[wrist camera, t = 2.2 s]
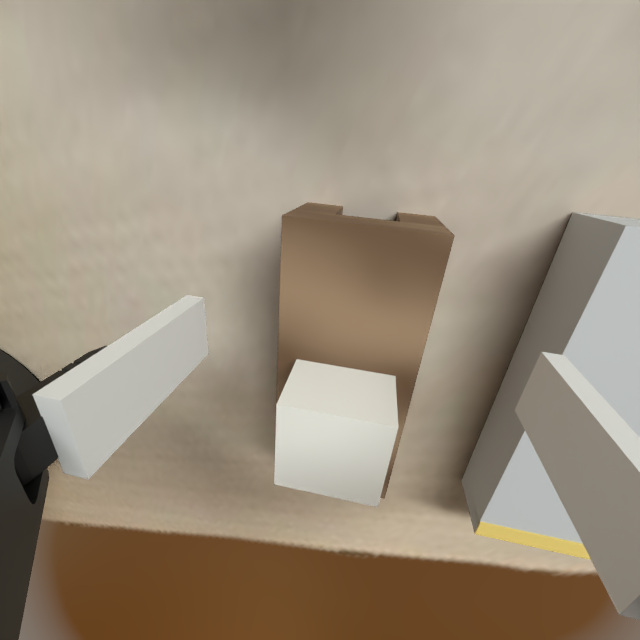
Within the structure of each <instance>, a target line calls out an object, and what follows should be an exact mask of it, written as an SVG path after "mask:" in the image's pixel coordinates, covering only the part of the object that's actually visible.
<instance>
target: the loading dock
mask: <svg viewBox="0 0 640 640" xmlns="http://www.w3.org/2000/svg"><path fill="white" fill-rule="evenodd" d="M541 352H547V353H553V354H559V355H564V356H565V357H566V358H567V359H568V360H569V361H570V362H571V363H572V364H573V365H574V366H575V367H576V369H577V370H578V371H579V372H580V373H581V374H582V375H583V376H584V377H585V378H586V379H587V381H588V382H589V383H590V384H591V385H592V386H593V387H594V388H595V389H596V390H597V391H598V393H599V394H600V395H601V396H602V397H603V398H604V399H605V400H606V401H607V402H608V403H609V404H610V406H611V407H612V408H613V409H614V410H615V411H616V412H617V413H618V414H619V415H620V416H621V418H622V419H623V420H624V421H625V422H626V423H627V424H628V425H629V426H630V427H631V428H632V430H633V431H634V432H635V433H636V434H637V435H638V436H639V437H640V219H633V218H623V217H613V216H604V215H594V214H584V213H575V212H573V213H572V215H571V217H570V220H569V222H568V225H567V227H566V229H565V232H564V234H563V237H562V239H561V241H560V244H559V246H558V249H557V251H556V254H555V256H554V258H553V261H552V263H551V266H550V268H549V270H548V273H547V275H546V278H545V280H544V282H543V285H542V287H541V290H540V292H539V295H538V297H537V299H536V302H535V304H534V307H533V309H532V311H531V314H530V316H529V319H528V321H527V324H526V326H525V328H524V331H523V333H522V336H521V338H520V340H519V343H518V345H517V348H516V350H515V352H514V355H513V357H512V360H511V362H510V365H509V367H508V369H507V372H506V374H505V377H504V379H503V381H502V384H501V386H500V389H499V391H498V393H497V396H496V398H495V401H494V403H493V406H492V408H491V410H490V413H489V415H488V418H487V420H486V422H485V425H484V427H483V430H482V432H481V435H480V437H479V439H478V442H477V444H476V447H475V449H474V451H473V454H472V456H471V459H470V461H469V463H468V466H467V468H466V471H465V473H464V476H463V478H462V480H461V481H462V485H463V489H464V493H465V497H466V501H467V505H468V509H469V513H470V517H471V521H472V525H473V529H474V533H475V534H477V535H481V536H486V537H490V538H495V539H499V540H504V541H508V542H513V543H518V544H522V545H527V546H531V547H536V548H540V549H545V550H549V551H554V552H558V553H563V554H567V555H572V556H576V557H581V558H586V559H590V557H589V555H588V553H587V551H586V549H585V547H584V545H583V543H582V541H581V539H580V537H579V535H578V533H577V531H576V529H575V527H574V525H573V523H572V521H571V519H570V517H569V515H568V514H567V512H566V510H565V508H564V506H563V504H562V502H561V500H560V498H559V496H558V494H557V492H556V490H555V488H554V486H553V484H552V482H551V480H550V478H549V476H548V474H547V472H546V470H545V468H544V467H543V465H542V463H541V461H540V459H539V457H538V455H537V453H536V451H535V449H534V447H533V445H532V443H531V441H530V439H529V437H528V435H527V433H526V431H525V429H524V427H523V425H522V423H521V422H520V420H519V418H518V416H517V414H516V412H515V408H516V406H517V404H518V402H519V399H520V397H521V395H522V393H523V391H524V389H525V386H526V384H527V382H528V380H529V378H530V376H531V373H532V371H533V369H534V367H535V365H536V362H537V360H538V358H539V356H540V354H541ZM590 560H591V559H590Z"/></svg>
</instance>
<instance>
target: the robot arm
mask: <svg viewBox="0 0 640 640" xmlns="http://www.w3.org/2000/svg"><path fill="white" fill-rule="evenodd" d="M208 354H209V349H208V337H207V325H206V314H205V302H204V298H203V297H197V296H191V295H186V296H185V297H183V298H182V299H180V300H179V301H177V302H175V303H174V304H172V305H171V306H169V307H168V308H166V309H165V310H163V311H161V312H160V313H158V314H157V315H155V316H154V317H152V318H151V319H149V320H147V321H146V322H144V323H143V324H141V325H140V326H138V327H137V328H135V329H133V330H132V331H130V332H129V333H127V334H126V335H124V336H123V337H121V338H119V339H118V340H116V341H115V342H113V343H112V344H110V345H109V346H104V347H101V348H99V349H96V350H93V351H91V352H88V353H87V354H85V355H83V356H82V357H80V358H79V359H77V360H75V361H74V363H70V364H69V365H67V366H66V367H64V368H62V371H58V372H56V373H54V374H53V375H51V376H50V377H48V378H46V379H45V380H43V381H42V382H39V381H38V380H37V379H36V378H35V377H34V376H33V375H32V374H31V373H30V372H29V371H28V370H27V369H26V368H24V367H23V366H22V365H21V364H20V363H18V362H17V361H16V360H14V359H13V358H12V357H10V356H9V355H7V354H6V353H4V352H3V351H1V350H0V640H18V639H19V634H20V628H21V622H22V618H23V612H24V607H25V602H26V597H27V591H28V586H29V581H30V576H31V571H32V565H33V560H34V555H35V550H36V544H37V539H38V534H39V529H40V524H41V518H42V513H43V508H44V503H45V497H46V492H47V487H48V482H49V473H48V470H47V467H48V466H49V465H50V464H52V463H53V462H54V461H55V460H56V459H57V458H58V460H59V462H60V465H61V467H62V470H63V472H64V473H65V474H69V475H73V476H77V477H81V478H85V479H89V478H90V477H91V476H92V475H93V474H94V473H95V472H96V471H97V470H98V469H99V468H100V467H101V466H102V465H103V464H104V463H105V461H106V460H107V459H108V458H109V457H110V456H111V455H112V454H113V453H114V452H115V451H116V450H117V449H118V448H119V447H120V446H121V445H122V444H123V443H124V442H125V441H126V440H127V439H128V437H129V436H130V435H131V434H132V433H133V432H134V431H135V430H136V429H137V428H138V427H139V426H140V425H141V424H142V423H143V422H144V421H145V420H146V419H147V418H148V417H149V416H150V414H151V413H152V412H153V411H154V410H155V409H156V408H157V407H158V406H159V405H160V404H161V403H162V402H163V401H164V400H165V399H166V398H167V397H168V396H169V395H170V394H171V393H172V392H173V390H174V389H175V388H176V387H177V386H178V385H179V384H180V383H181V382H182V381H183V380H184V379H185V378H186V377H187V376H188V375H189V374H190V373H191V372H192V371H193V370H194V369H195V367H196V366H197V365H198V364H199V363H200V362H201V361H202V360H203V359H204V358H205V357H206V356H207V355H208ZM515 412H516V414H517V416H518V418H519V420H520V422H521V423H522V425H523V427H524V429H525V431H526V433H527V435H528V437H529V439H530V441H531V443H532V445H533V447H534V449H535V451H536V453H537V455H538V457H539V459H540V461H541V463H542V465H543V467H544V468H545V470H546V472H547V474H548V476H549V478H550V480H551V482H552V484H553V486H554V488H555V490H556V492H557V494H558V496H559V498H560V500H561V502H562V504H563V506H564V508H565V510H566V512H567V514H568V515H569V517H570V519H571V521H572V523H573V525H574V527H575V529H576V531H577V533H578V535H579V537H580V539H581V541H582V543H583V545H584V547H585V549H586V551H587V553H588V555H589V557H590V559H591V561H592V562H593V564H594V566H595V568H596V570H597V572H598V574H599V576H600V578H601V580H602V582H603V584H604V586H605V588H606V590H607V592H608V594H609V596H610V598H611V600H612V602H613V603H614V606H615V607H616V609H617V611H618V613H619V615H622V616H626V617H630V618H634V619H638V620H640V437H639V436H638V435H637V434H636V433H635V432H634V431H633V430H632V428H631V427H630V426H629V425H628V424H627V423H626V422H625V421H624V420H623V419H622V418H621V416H620V415H619V414H618V413H617V412H616V411H615V410H614V409H613V408H612V407H611V406H610V404H609V403H608V402H607V401H606V400H605V399H604V398H603V397H602V396H601V395H600V394H599V393H598V391H597V390H596V389H595V388H594V387H593V386H592V385H591V384H590V383H589V382H588V381H587V379H586V378H585V377H584V376H583V375H582V374H581V373H580V372H579V371H578V370H577V369H576V367H575V366H574V365H573V364H572V363H571V362H570V361H569V360H568V359H567V358H566V357H565V356H564V355H559V354H553V353H547V352H541V354H540V356H539V358H538V360H537V362H536V365H535V367H534V369H533V371H532V373H531V376H530V378H529V380H528V382H527V384H526V386H525V389H524V391H523V393H522V395H521V397H520V399H519V402H518V404H517V406H516V408H515Z"/></svg>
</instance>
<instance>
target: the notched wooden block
mask: <svg viewBox="0 0 640 640" xmlns="http://www.w3.org/2000/svg"><path fill="white" fill-rule="evenodd" d="M342 212H343V206H335V205H326V204H317V203H306V204H304V205H302V206H300V207H298V208H296V209H294V210H292V211H290V212H288V213H286V214H284V215H282V232H281V266H280V300H279V333H278V367H277V400H276V405H277V402H278V400H279V398H280V395H281V393H282V391H283V389H284V386H285V384H286V382H287V380H288V377H289V375H290V373H291V371H292V368H293V366H294V364H295V362H296V359H299V360H305V361H311V362H317V363H322V364H328V365H334V366H340V367H346V368H352V369H358V370H363V371H369V372H375V373H381V374H387V375H393V376H395V377H396V394H397V411H398V431H397V435H396V439H395V443H394V446H393V450H392V454H391V458H390V462H389V466H388V470H387V474H386V477H385V481H384V485H383V489H382V493H381V497H380V498H384V499H385V495H386V491H387V487H388V483H389V480H390V476H391V472H392V468H393V465H394V461H395V457H396V453H397V450H398V446H399V442H400V438H401V435H402V431H403V427H404V423H405V420H406V416H407V412H408V408H409V405H410V401H411V397H412V393H413V390H414V386H415V382H416V378H417V375H418V371H419V367H420V363H421V360H422V356H423V352H424V348H425V344H426V341H427V337H428V333H429V329H430V326H431V322H432V318H433V314H434V311H435V307H436V303H437V299H438V296H439V292H440V288H441V284H442V281H443V277H444V273H445V269H446V266H447V262H448V258H449V254H450V251H451V247H452V243H453V239H454V235H453V234H452V233H451V232H450V231H449V230H448V229H447V228H446V227H445V226H444V225H443V224H442V223H441V222H440V221H439V220H438V219H437V218H436V217H435V216H426V215H417V214H408V213H399V212H398V213H397V218H396V221H389V220H381V219H372V218H363V217H354V216H345V215H342ZM275 439H276V434H275ZM274 472H275V468H274Z"/></svg>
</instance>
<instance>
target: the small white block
mask: <svg viewBox="0 0 640 640" xmlns="http://www.w3.org/2000/svg"><path fill="white" fill-rule="evenodd" d="M397 431H398V411H397V394H396V377H395V376H393V375H387V374H381V373H375V372H369V371H363V370H358V369H352V368H346V367H340V366H334V365H328V364H322V363H317V362H311V361H305V360H299V359H296V362H295V364H294V366H293V368H292V371H291V373H290V375H289V377H288V380H287V382H286V384H285V386H284V389H283V391H282V393H281V395H280V398H279V400H278V402H277V405H276V439H275V472H274V485H279V486H284V487H288V488H293V489H297V490H302V491H306V492H311V493H315V494H320V495H324V496H329V497H334V498H338V499H343V500H347V501H352V502H356V503H361V504H365V505H370V506H374V507H378V505H379V501H380V497H381V493H382V489H383V485H384V481H385V477H386V474H387V470H388V466H389V462H390V458H391V454H392V450H393V446H394V443H395V439H396V435H397Z"/></svg>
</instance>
